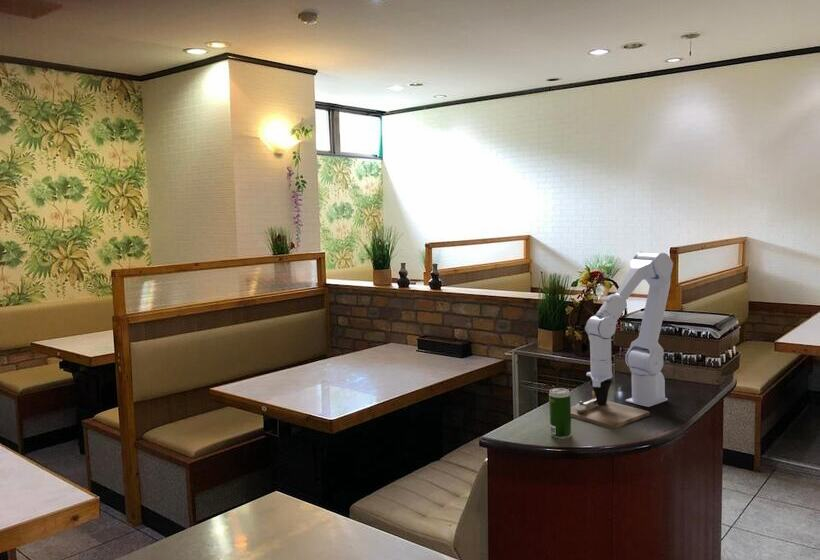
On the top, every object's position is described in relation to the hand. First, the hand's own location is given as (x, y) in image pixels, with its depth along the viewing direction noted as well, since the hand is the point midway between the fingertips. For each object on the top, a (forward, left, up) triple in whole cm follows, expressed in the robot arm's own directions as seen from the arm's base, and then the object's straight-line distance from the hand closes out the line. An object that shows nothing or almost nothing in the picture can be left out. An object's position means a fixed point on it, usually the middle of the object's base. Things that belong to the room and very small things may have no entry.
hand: (601, 405), depth 186 cm
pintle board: (+1, +2, -2) cm, 3 cm away
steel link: (+2, -2, -1) cm, 3 cm away
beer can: (+22, +5, -2) cm, 23 cm away
